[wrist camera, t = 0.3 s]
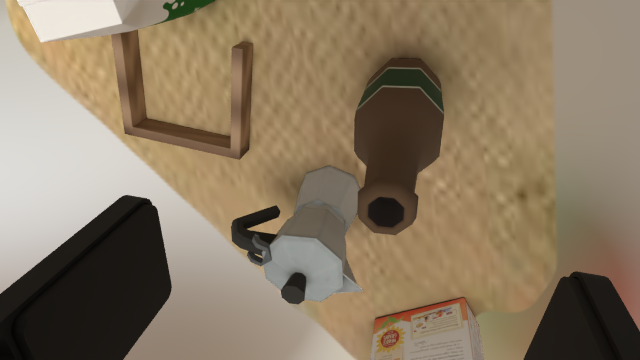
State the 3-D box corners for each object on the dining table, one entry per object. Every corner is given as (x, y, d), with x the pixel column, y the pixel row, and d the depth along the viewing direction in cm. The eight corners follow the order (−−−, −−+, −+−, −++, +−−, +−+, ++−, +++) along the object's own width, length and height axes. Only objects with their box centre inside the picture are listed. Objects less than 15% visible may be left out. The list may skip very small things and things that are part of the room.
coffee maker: (390, 188, 50) (375, 293, 34) (363, 238, 54) (339, 350, 39) (279, 141, 50) (215, 225, 35) (261, 195, 55) (198, 290, 39)
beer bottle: (386, 41, 42) (349, 129, 21) (455, 72, 41) (485, 190, 21) (356, 107, 46) (302, 234, 25) (419, 135, 46) (415, 284, 25)
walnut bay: (126, 20, 47) (109, 24, 44) (252, 43, 45) (242, 49, 42) (139, 124, 53) (124, 133, 51) (248, 149, 51) (239, 159, 49)
